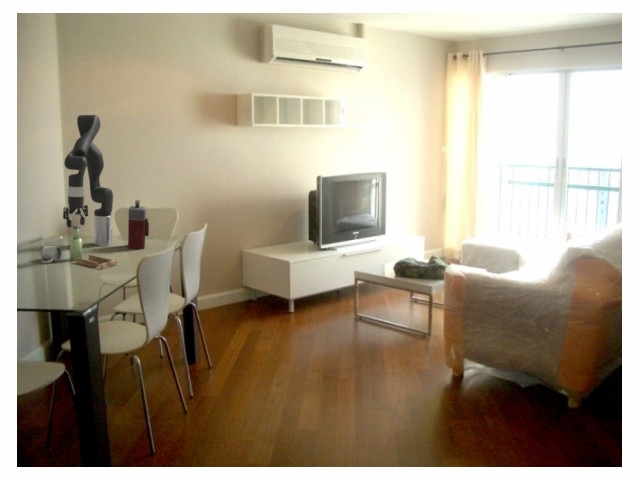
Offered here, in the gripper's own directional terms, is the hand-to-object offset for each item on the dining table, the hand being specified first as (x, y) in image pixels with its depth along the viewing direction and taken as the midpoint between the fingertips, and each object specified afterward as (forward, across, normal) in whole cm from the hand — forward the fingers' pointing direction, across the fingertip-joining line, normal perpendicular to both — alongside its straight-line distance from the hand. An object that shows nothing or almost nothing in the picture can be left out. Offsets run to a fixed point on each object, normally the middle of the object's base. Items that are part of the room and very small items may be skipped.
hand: (75, 226), depth 312 cm
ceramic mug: (+18, +10, -7) cm, 22 cm away
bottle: (+18, 0, 0) cm, 18 cm away
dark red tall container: (+18, -42, +5) cm, 46 cm away
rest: (+18, 0, +14) cm, 23 cm away
